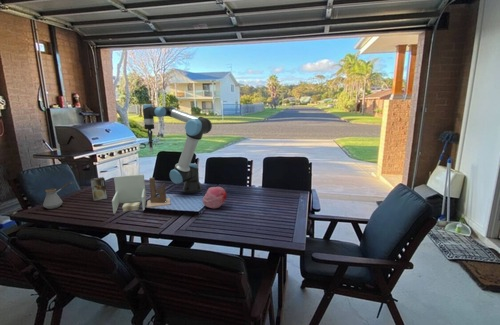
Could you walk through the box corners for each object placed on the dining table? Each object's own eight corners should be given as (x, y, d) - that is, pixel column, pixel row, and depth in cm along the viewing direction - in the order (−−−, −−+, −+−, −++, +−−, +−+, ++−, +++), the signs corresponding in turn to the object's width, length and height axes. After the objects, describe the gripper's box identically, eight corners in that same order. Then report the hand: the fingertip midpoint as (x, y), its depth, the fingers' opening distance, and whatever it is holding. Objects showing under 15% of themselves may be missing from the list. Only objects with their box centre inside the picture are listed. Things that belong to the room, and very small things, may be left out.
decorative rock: (233, 197, 192) (222, 179, 193) (229, 201, 178) (216, 182, 179) (212, 210, 196) (201, 193, 196) (206, 216, 182) (194, 197, 182)
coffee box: (106, 196, 215) (103, 176, 212) (107, 198, 210) (105, 178, 207) (93, 198, 210) (90, 178, 207) (94, 200, 205) (91, 180, 202)
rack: (146, 199, 206) (143, 174, 202) (145, 209, 186) (142, 181, 182) (117, 203, 200) (114, 176, 196) (112, 213, 179) (109, 184, 175)
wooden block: (164, 202, 196) (162, 178, 193) (150, 202, 197) (148, 178, 194) (166, 201, 200) (164, 177, 196) (152, 200, 201) (150, 177, 197)
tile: (169, 198, 208) (169, 197, 207) (170, 204, 195) (170, 203, 194) (147, 201, 203) (147, 200, 202) (146, 207, 190) (146, 206, 189)
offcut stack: (140, 206, 193) (140, 201, 192) (139, 210, 186) (139, 205, 185) (124, 208, 190) (123, 203, 189) (122, 212, 183) (121, 207, 182)
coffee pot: (50, 211, 186) (47, 190, 183) (39, 208, 190) (36, 188, 187) (79, 201, 205) (76, 181, 202) (69, 199, 210) (66, 180, 207)
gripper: (144, 123, 227) (146, 148, 232) (144, 125, 205) (146, 152, 209) (153, 123, 230) (155, 147, 234) (154, 124, 207) (156, 152, 211)
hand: (151, 150), depth 222 cm, fingers open, 13 cm apart
